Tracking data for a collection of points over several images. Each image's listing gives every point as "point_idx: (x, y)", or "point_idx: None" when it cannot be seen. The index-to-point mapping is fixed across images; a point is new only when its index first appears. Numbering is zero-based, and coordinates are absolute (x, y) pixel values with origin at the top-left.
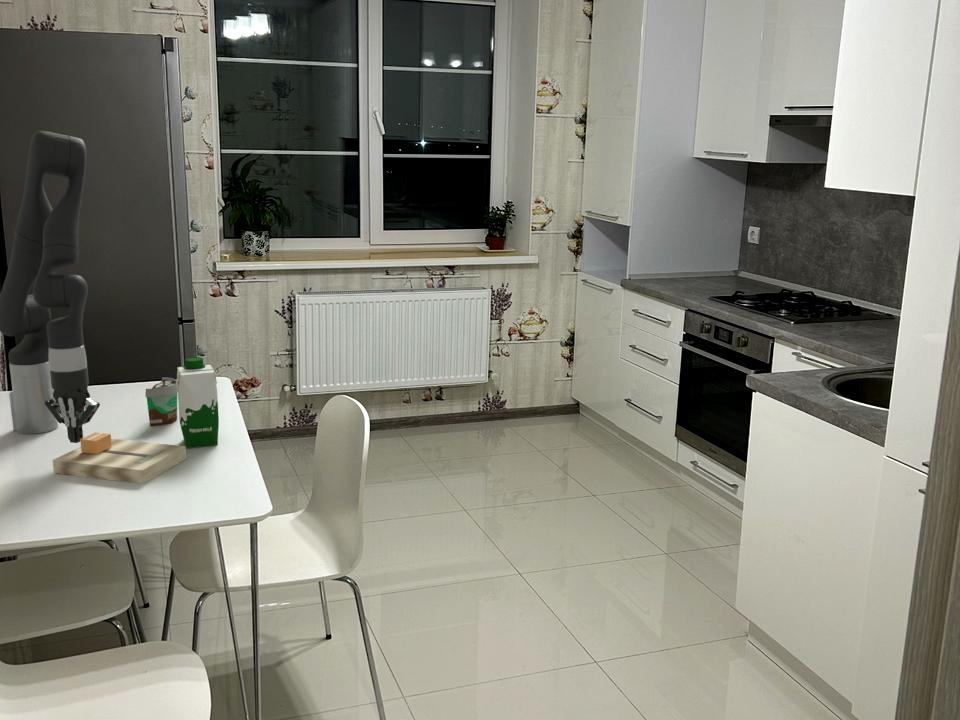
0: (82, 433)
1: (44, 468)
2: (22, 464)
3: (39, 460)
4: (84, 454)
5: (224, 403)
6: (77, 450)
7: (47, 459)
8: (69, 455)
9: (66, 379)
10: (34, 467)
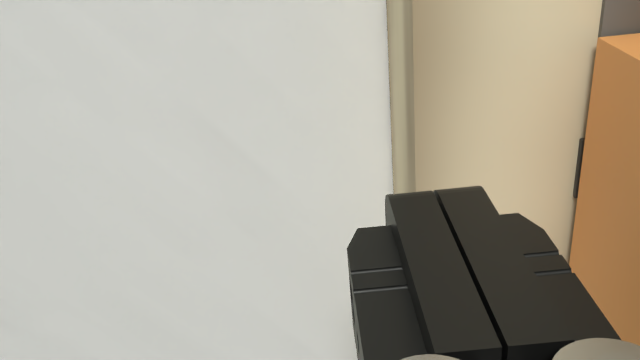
0: (565, 268)
1: (253, 337)
2: (16, 340)
3: (45, 234)
4: None
5: None
6: None
7: (84, 192)
8: None
9: None
10: (164, 349)
